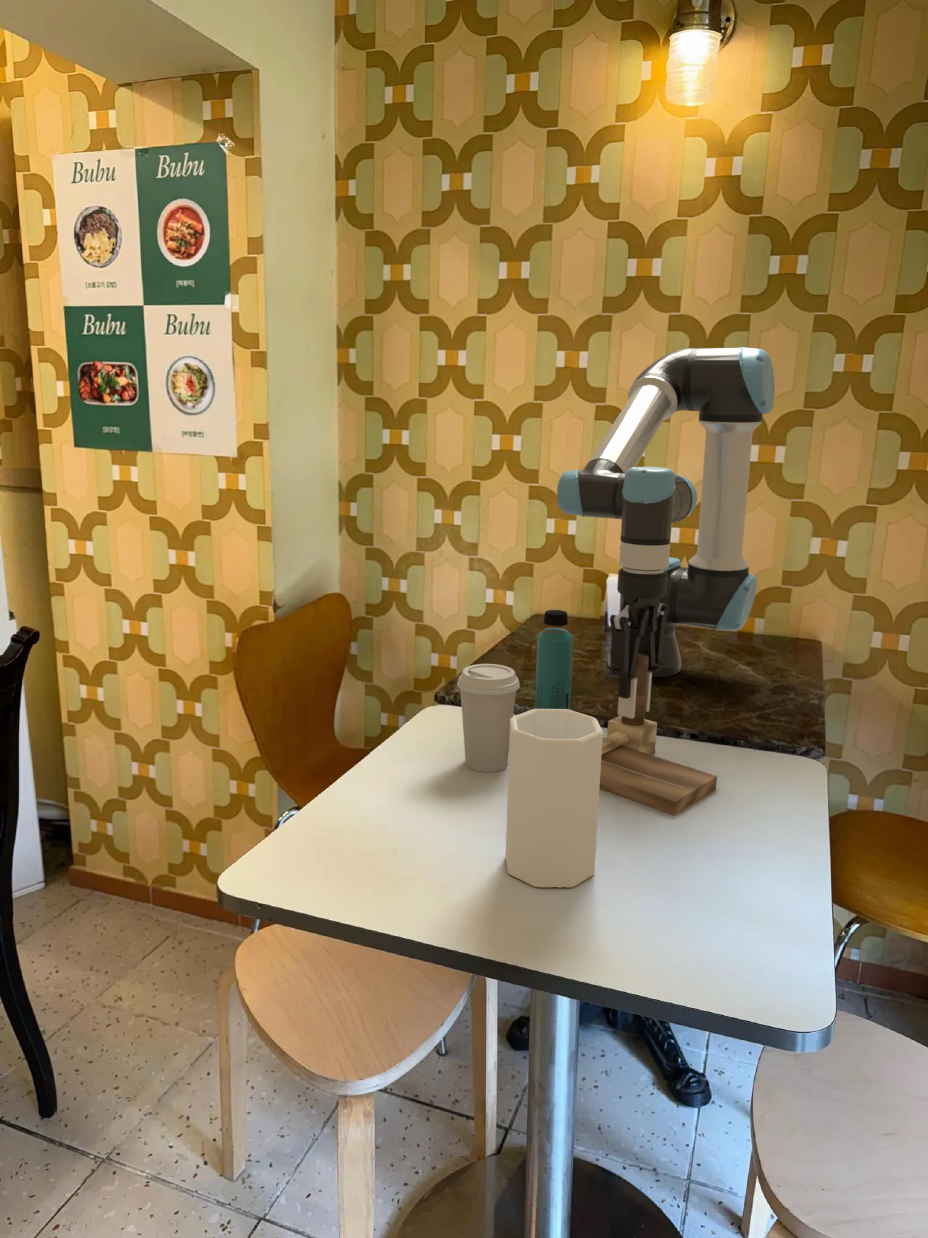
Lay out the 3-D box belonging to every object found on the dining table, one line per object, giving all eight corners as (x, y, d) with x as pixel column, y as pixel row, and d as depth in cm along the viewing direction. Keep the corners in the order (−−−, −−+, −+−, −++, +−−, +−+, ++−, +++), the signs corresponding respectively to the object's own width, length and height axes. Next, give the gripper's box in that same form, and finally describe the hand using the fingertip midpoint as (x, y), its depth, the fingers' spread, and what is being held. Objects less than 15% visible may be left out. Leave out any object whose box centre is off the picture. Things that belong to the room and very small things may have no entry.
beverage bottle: (569, 729, 155) (574, 616, 150) (530, 726, 156) (535, 614, 151) (572, 717, 161) (577, 608, 156) (535, 713, 162) (539, 605, 157)
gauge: (623, 741, 150) (629, 649, 146) (654, 751, 146) (662, 656, 142) (569, 767, 139) (575, 668, 135) (602, 779, 135) (608, 677, 131)
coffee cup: (446, 756, 142) (447, 665, 139) (500, 748, 146) (503, 659, 142) (470, 780, 134) (472, 684, 130) (527, 771, 138) (531, 677, 134)
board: (572, 741, 150) (572, 729, 149) (715, 788, 133) (717, 775, 132) (526, 761, 141) (527, 749, 140) (674, 815, 124) (675, 801, 123)
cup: (529, 898, 103) (536, 747, 98) (488, 853, 113) (492, 714, 108) (612, 879, 107) (622, 733, 103) (566, 837, 117) (573, 703, 113)
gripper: (651, 559, 147) (641, 695, 153) (591, 572, 135) (583, 719, 141) (692, 565, 142) (680, 706, 148) (634, 580, 130) (624, 732, 136)
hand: (633, 712), depth 144 cm, fingers closed on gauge, 4 cm apart
